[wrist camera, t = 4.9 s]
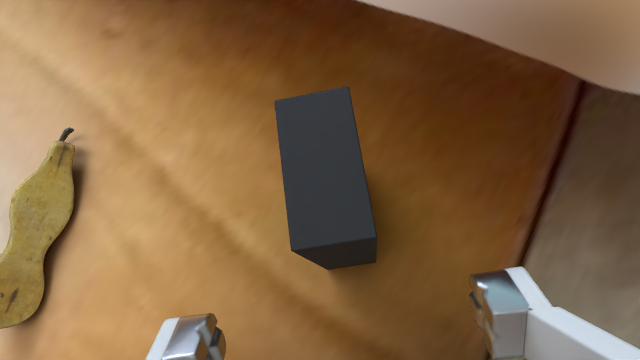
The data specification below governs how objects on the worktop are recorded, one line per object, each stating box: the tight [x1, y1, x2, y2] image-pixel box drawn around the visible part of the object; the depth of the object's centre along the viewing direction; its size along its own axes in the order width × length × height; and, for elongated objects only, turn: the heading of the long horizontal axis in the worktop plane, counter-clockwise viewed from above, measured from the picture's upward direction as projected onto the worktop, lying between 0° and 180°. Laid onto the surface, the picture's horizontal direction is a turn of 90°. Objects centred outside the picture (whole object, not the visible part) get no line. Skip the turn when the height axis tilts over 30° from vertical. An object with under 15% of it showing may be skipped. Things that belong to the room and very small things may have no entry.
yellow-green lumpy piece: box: [0, 128, 75, 329], centre depth 25 cm, size 3×14×3 cm
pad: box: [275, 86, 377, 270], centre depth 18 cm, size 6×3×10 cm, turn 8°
